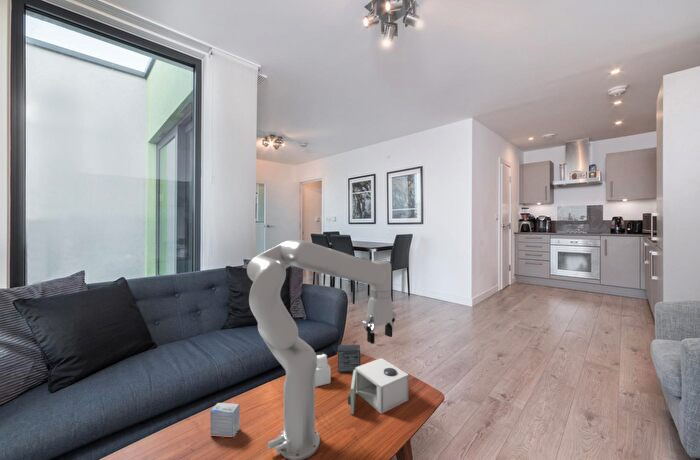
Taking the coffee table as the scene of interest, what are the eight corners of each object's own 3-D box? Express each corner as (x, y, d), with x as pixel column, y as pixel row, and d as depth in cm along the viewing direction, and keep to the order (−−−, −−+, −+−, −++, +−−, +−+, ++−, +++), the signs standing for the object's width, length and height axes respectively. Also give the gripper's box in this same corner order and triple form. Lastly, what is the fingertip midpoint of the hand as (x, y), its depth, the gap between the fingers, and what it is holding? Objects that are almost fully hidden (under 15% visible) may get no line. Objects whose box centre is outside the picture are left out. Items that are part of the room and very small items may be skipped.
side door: (347, 413, 100) (347, 388, 100) (351, 391, 113) (351, 369, 113) (353, 414, 100) (353, 388, 100) (356, 392, 113) (356, 369, 112)
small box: (360, 365, 135) (360, 344, 134) (360, 372, 128) (360, 350, 128) (338, 365, 135) (338, 344, 134) (337, 372, 128) (337, 350, 128)
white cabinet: (381, 413, 101) (381, 384, 100) (355, 391, 114) (355, 366, 113) (408, 399, 108) (408, 372, 108) (381, 380, 122) (381, 356, 121)
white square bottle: (309, 378, 123) (309, 351, 123) (325, 375, 126) (325, 348, 126) (314, 387, 117) (314, 359, 116) (330, 383, 120) (330, 355, 119)
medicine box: (240, 429, 93) (240, 403, 93) (233, 439, 89) (233, 412, 89) (218, 427, 94) (217, 402, 94) (210, 437, 90) (209, 410, 89)
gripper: (388, 289, 113) (387, 330, 113) (357, 295, 102) (356, 341, 102) (403, 292, 108) (402, 336, 108) (371, 299, 96) (370, 349, 96)
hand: (379, 339), depth 105 cm, fingers open, 9 cm apart
